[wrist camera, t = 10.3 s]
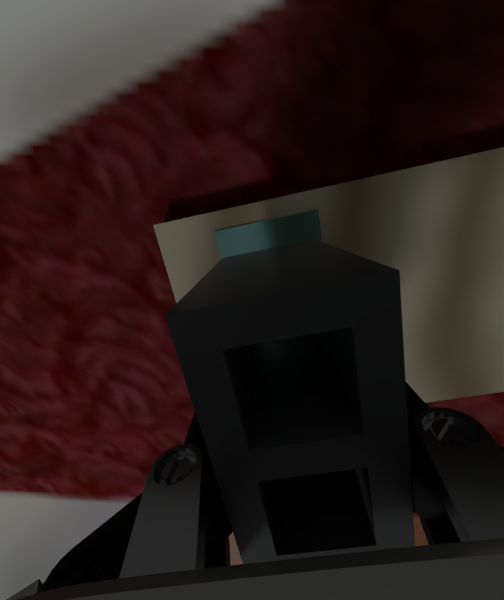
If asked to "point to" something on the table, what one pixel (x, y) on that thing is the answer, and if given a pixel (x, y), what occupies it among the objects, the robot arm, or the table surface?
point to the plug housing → (301, 399)
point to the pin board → (390, 257)
